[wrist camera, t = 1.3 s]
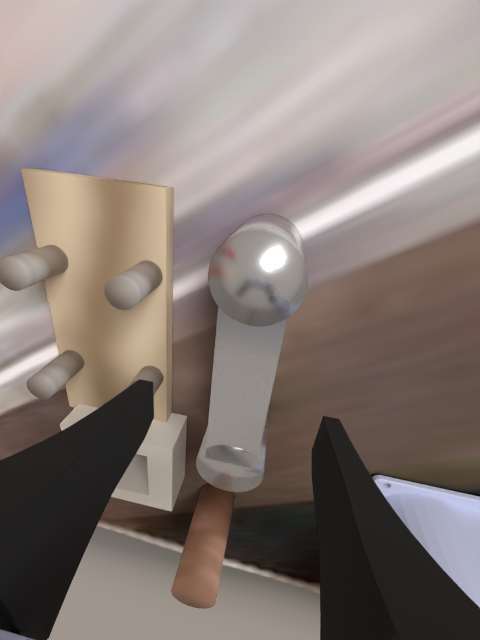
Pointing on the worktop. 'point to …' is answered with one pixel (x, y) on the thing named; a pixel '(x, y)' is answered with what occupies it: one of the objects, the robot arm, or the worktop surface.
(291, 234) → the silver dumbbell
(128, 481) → the slot block
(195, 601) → the pin
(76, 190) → the peg board
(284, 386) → the worktop surface
